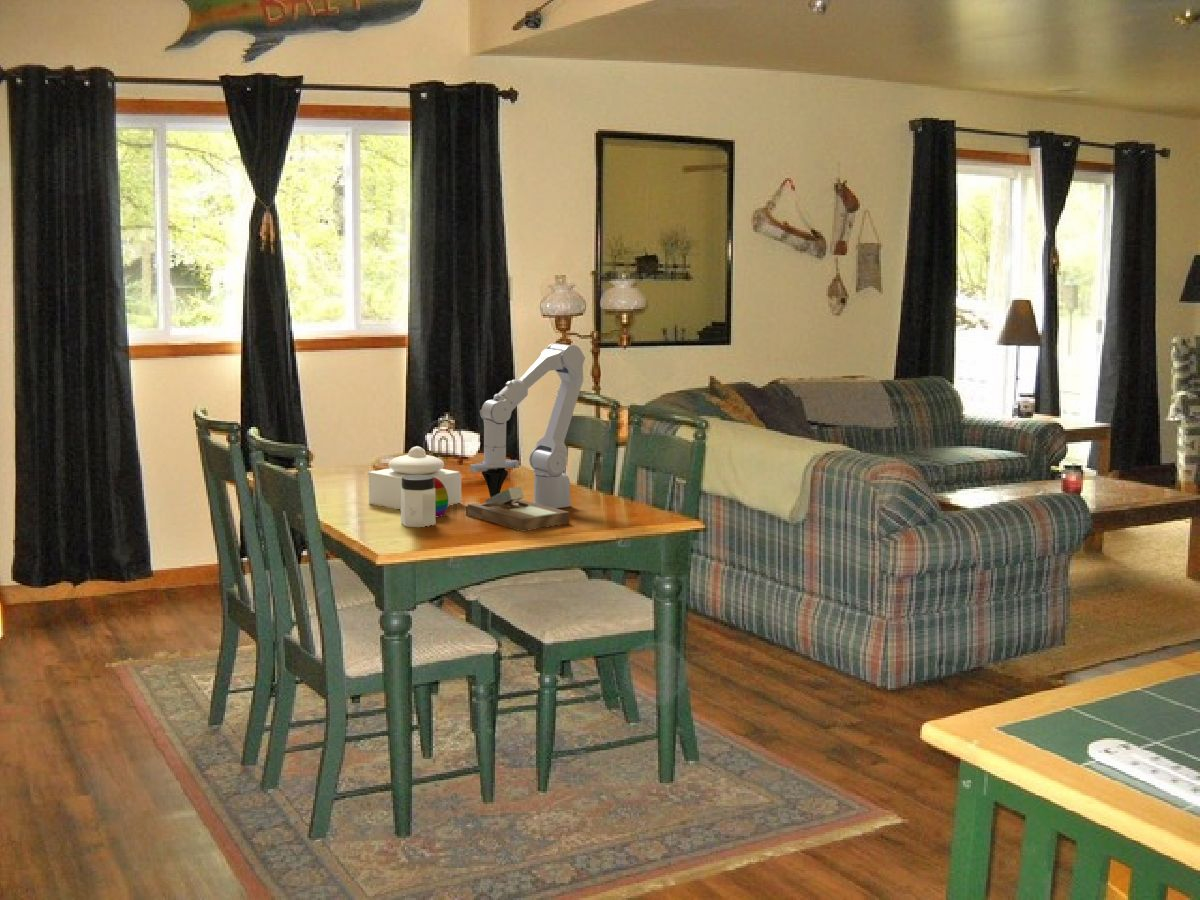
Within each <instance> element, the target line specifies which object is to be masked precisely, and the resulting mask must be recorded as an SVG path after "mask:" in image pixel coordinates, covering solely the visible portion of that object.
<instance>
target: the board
mask: <svg viewBox="0 0 1200 900" xmlns="http://www.w3.org/2000/svg"><path fill="white" fill-rule="evenodd" d="M529 506H533V507H537V508H541V509H544V510H548V511H552V512H556V513H557V514H554V515H547V516H541V517H532V516H528V515H525V514H521V513H517V512H514V511H510V509H515V508H522V507H529ZM467 515H469V516H468V517H471V516H472V517H471V518H474V517H476V518H475V519H478V518H480V519H479V520H481V519H483V520H482V521H485V520H487V521H486V522H488V521H491V522H490V523H492V522H494V523H493V524H495V523H498V524H497V525H499V524H501V525H500V526H502V525H505V526H504V527H506V526H508V527H507V528H509V527H511V528H510V529H513V528H515V529H514V530H516V529H519V530H518V531H520V530H522V531H521V532H524V531H523V530H527V531H529V530H528V529H533V530H536V529H535V528H539V529H541V528H540V527H545V528H548V527H547V526H552V527H554V526H553V525H558V526H561V525H560V524H564V525H567V524H566V523H569V524H570V511H568V510H567V511H566V510H564V509H563V510H562V509H560V508H556V509H555V508H552V507H548V506H544V505H540V504H536V503H534V502H531V501H527V500H524V499H520V500H518V501H516V502H514V503H512V504H507V505H504V504H502V505H500V506H493V507H487V504H486V502H484V503H478V504H477V503H468V504H467V505H465V516H467Z"/></svg>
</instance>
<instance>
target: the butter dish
mask: <svg viewBox="0 0 1200 900" xmlns="http://www.w3.org/2000/svg"><path fill="white" fill-rule="evenodd" d="M444 466H445V463H444V461H443V460H442V459H440V458H439V457H436V456H433V455H429V454H427V453H426V450H425V449H424V448H423V447H421V446H418V445H416V446H413V447H411V448H410V449H409V450H408V453H407V454H405V455H400V456H396V457H394V458H393V459H392V458H391V459H390V460H389V462H388V467H389V468H383V469H379V470H373V471H367V475H368V504H369V505H371V504H374V505H373V506H376V505H380V506H379V507H381V506H385V507H384V508H386V507H389V508H388V509H391V508H396V509H400V510H399V511H401V487H402V477H403V476H406V475H415V474H422V475H431V476H433V477H435V478H437V479H439V480H440V481H441V482H442V483H443V485H444V486H445V488H446V491H447V494H448V505H451V504H456V503H461V504H462V474H461V472H460V471H457V470H451V469H444ZM396 509H395V510H396Z"/></svg>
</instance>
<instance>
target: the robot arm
mask: <svg viewBox="0 0 1200 900" xmlns="http://www.w3.org/2000/svg"><path fill="white" fill-rule="evenodd" d="M539 355H540V356H538V358H537V359H536V360H535V361H534V363H533V364H532V365H530V367H529V368H528V369H527V370H526V371H525V372H524V373H523V375H521V376H520V377H519V379H512V380H508V381H507V382H505V386H504V387H503V388H502V389H500V391H499V392H498V393H495V394H494V395H493V399H488V400H486V401H485V402H484V403H483V404H482V406H481V409H480V410H479V415H480V417H481V419H482V420H483V461H482V462H477V463H473V464H472V463H471V464H469V472H470V473H473V474H476V473H481V475H482V477H483V478H484V481H485V483H486V486H487V489H488V494H489V496H490V497H489V498H491V497H493V496H495V495H496V494H498V493H500V492H501V490H502V486H503V485H504V482H505V480H506V478H507V476H508V475H509V471H508V470H510V469H519V468H520V461H519V460H517V459H511V460H508V459H507V421H509V420H510V419H511V417H512V412H513V411H514V409H516V407H517V406H518V405H519V404H520V403H521V402H523V401H524V400H525V399H526V398H527V396H528V395H529V394H528V393H529V389H530V388H531V387H532V386H533V385H535V384H536V382H538V381H539V380H541V378H543V377H544V376H545V375H546V374H548V372H550V371H555V372H556V373H557V376H559V378H560V380H561V383H560V386H559V389H558V392H557V396H556V397H555V401H554V403H553V404H554V405H553V408H552V411H551V413H550V417H549V420H548V423H547V427H546V430H545V434H544V435H543V437H542V438H540V439H539V440H538V441H537V442H536V446H535V447H534V449H533V450H532V451H531V452H530V454H529V456H528V457H529V459H528V460H529V465H530V467H531V468H532V469H533V474H534V475H533V477H534V478H533V479H534V481H533V482H534V485H533V503H536V504H540V505H544V506H548V507H552V508H555V509H561V508H569V507H572V506H573V504H572V503H571V481H570V478H569V476H568V475H567V474H566V473H564V471H565V470H566V467H567V456H568V451H569V450H568V448H567V445H566V444H565V439H566V437H567V433H568V430H569V427H570V423H571V421H572V418H573V415H574V411H575V407H576V405H577V401H578V399H579V396H580V391H581V389H582V386H583V383H584V362H585V360H586V356H585V355H584V353H583V351H582V349H581V348H580V347H579V346H577V345H575V344H563V343H560V342H552V343H550V344H549V345H548V346H547V347H546V348H545V349H543V350H542V351H541V353H540V354H539ZM507 469H508V470H507Z"/></svg>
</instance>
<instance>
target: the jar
mask: <svg viewBox="0 0 1200 900" xmlns="http://www.w3.org/2000/svg"><path fill="white" fill-rule="evenodd" d="M436 518H437V517H436V516H435V488H434V477H433V476H431V475H422V474H415V475H406V476H403V477H402V487H401V510H400V524H402V525H403V526H404V527H405V526H406V527H405V528H420V527H423V528H426V527H425V526H427V527H430V525H432V526H435V525H436V521H437V520H436ZM434 524H435V525H434Z"/></svg>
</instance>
